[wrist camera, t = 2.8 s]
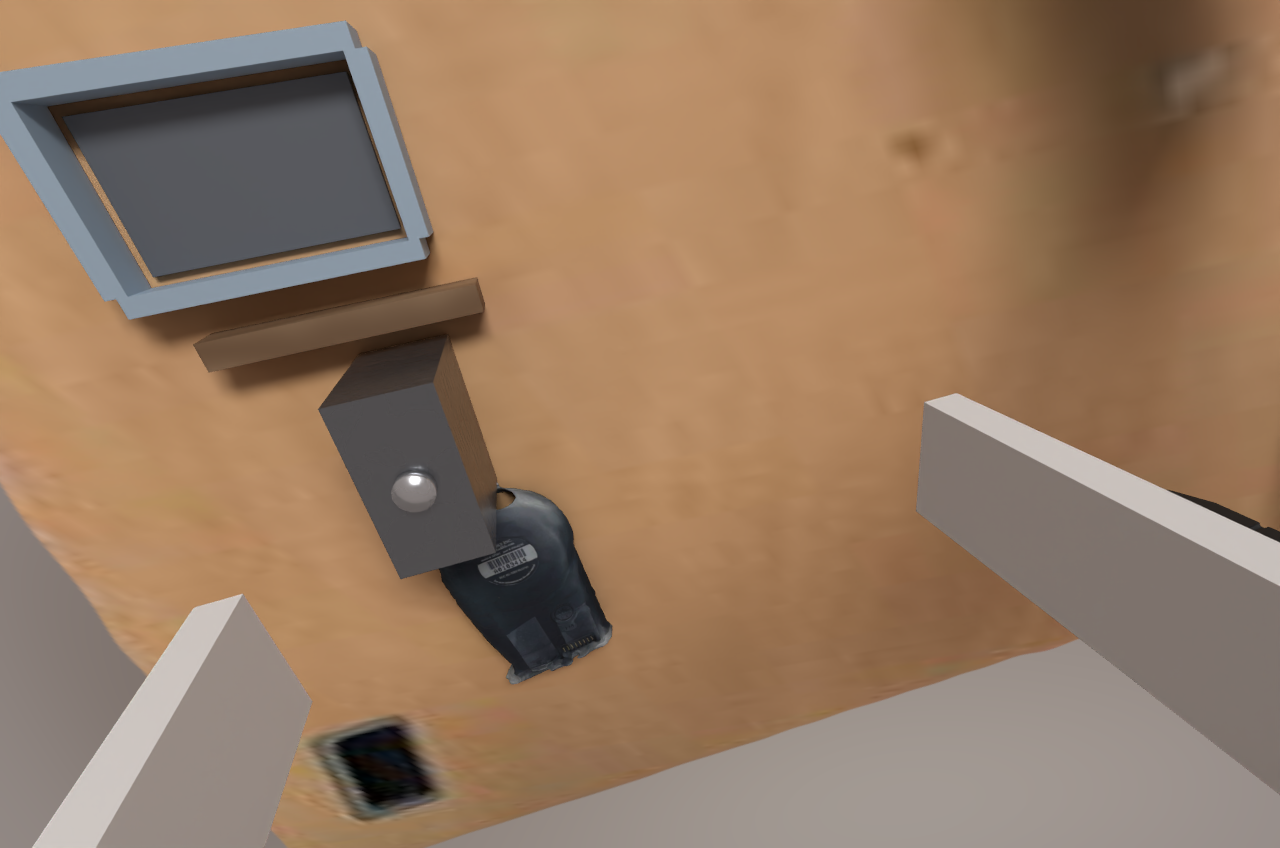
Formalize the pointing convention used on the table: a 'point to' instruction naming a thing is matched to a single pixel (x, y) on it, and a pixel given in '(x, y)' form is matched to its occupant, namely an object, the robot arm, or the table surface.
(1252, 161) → the table surface
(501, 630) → the electronic device
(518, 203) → the table surface
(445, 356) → the grey block with knob
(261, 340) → the door edge strip
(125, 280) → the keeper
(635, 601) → the table surface
